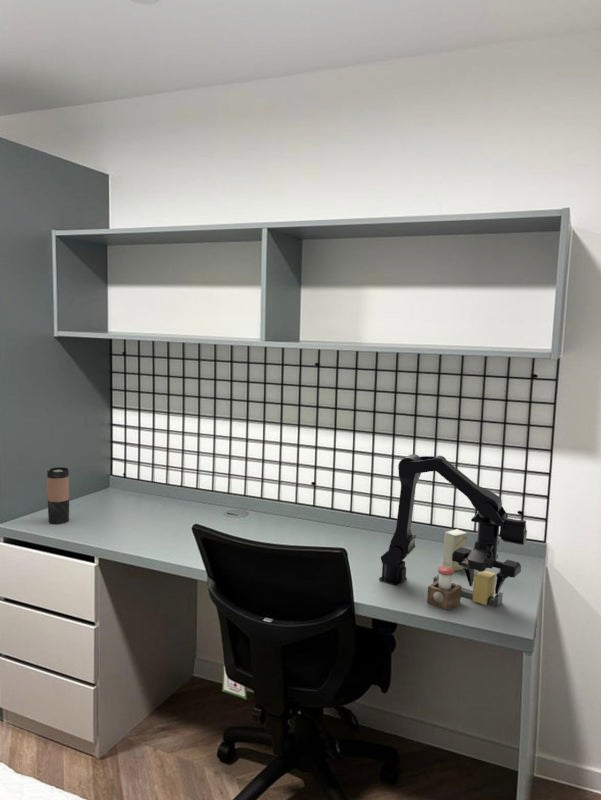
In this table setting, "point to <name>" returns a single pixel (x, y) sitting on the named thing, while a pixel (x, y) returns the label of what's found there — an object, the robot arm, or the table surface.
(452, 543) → the skincare box
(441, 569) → the plunger
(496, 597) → the rail
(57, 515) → the travel mug
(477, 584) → the block
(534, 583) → the table surface
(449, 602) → the brown wooden box
